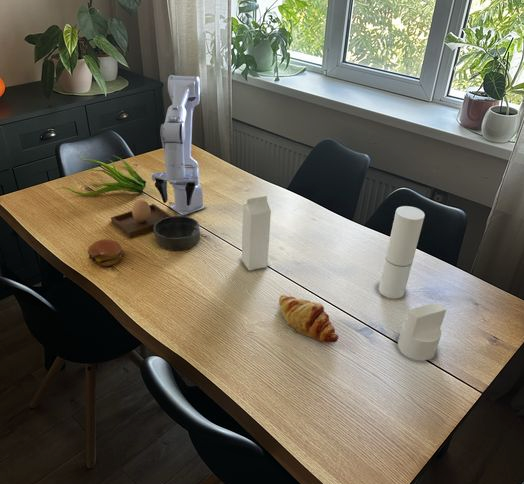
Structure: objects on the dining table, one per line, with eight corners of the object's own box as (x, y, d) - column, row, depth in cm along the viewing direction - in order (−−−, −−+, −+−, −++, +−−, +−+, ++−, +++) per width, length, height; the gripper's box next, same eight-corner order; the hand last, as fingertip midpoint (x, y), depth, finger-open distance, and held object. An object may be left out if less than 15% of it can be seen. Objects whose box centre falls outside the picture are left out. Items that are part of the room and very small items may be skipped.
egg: (150, 225, 163) (148, 204, 158) (132, 226, 162) (129, 204, 158) (152, 217, 168) (150, 195, 163) (134, 217, 167) (132, 195, 163)
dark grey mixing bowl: (183, 223, 166) (183, 211, 164) (208, 241, 158) (208, 229, 155) (146, 236, 158) (144, 224, 156) (170, 256, 150) (169, 243, 147)
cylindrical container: (405, 286, 142) (425, 209, 128) (402, 301, 137) (423, 221, 123) (380, 281, 144) (397, 204, 130) (376, 294, 139) (394, 216, 124)
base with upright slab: (413, 364, 117) (424, 326, 110) (390, 340, 124) (400, 302, 117) (443, 354, 120) (456, 317, 113) (419, 331, 127) (430, 294, 120)
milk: (267, 267, 148) (272, 200, 135) (248, 271, 145) (251, 204, 133) (259, 256, 152) (263, 191, 139) (241, 260, 150) (243, 194, 137)
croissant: (271, 316, 134) (261, 301, 128) (296, 290, 136) (287, 274, 130) (327, 361, 121) (319, 345, 115) (354, 331, 123) (347, 315, 117)
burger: (119, 246, 153) (117, 233, 150) (126, 262, 146) (124, 249, 143) (86, 253, 149) (84, 240, 147) (91, 269, 142) (89, 256, 140)
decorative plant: (83, 177, 192) (76, 140, 184) (150, 191, 184) (146, 153, 176) (51, 195, 178) (43, 156, 170) (122, 212, 170) (117, 172, 162)
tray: (154, 209, 174) (153, 203, 172) (173, 223, 166) (173, 217, 165) (111, 222, 165) (110, 217, 163) (129, 238, 157) (129, 232, 156)
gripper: (146, 165, 147) (150, 206, 155) (194, 170, 145) (196, 211, 153) (154, 156, 152) (158, 196, 160) (200, 161, 151) (202, 201, 159)
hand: (177, 202), depth 157 cm, fingers open, 7 cm apart
